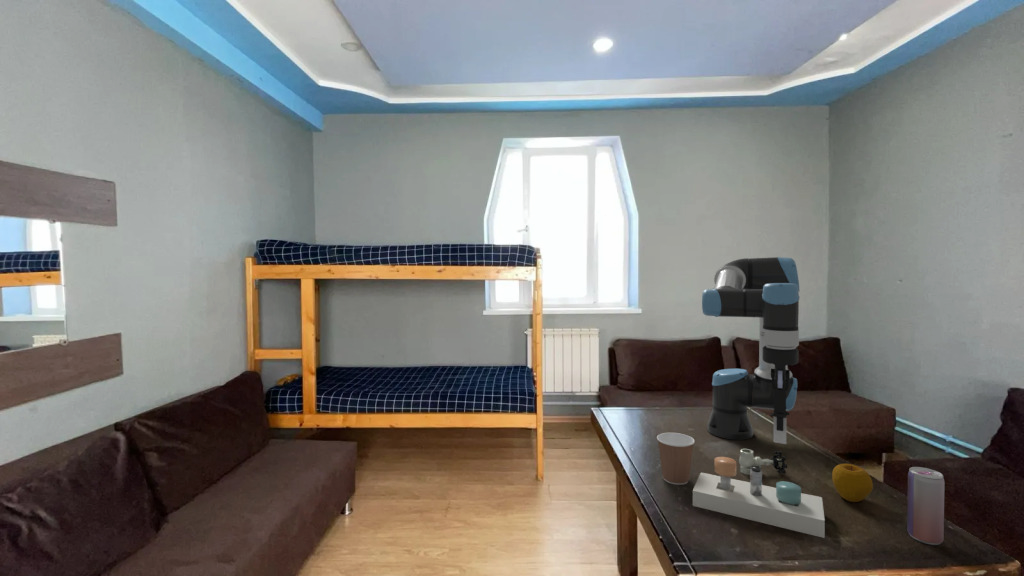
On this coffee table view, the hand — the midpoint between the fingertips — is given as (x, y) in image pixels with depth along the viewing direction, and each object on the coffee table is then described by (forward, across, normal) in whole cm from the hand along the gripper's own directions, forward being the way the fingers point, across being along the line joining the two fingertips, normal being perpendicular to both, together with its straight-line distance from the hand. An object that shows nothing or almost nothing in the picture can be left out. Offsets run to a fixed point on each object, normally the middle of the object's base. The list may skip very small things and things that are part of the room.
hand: (779, 442), depth 111 cm
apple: (+19, -18, +16) cm, 30 cm away
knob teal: (+18, 0, +2) cm, 18 cm away
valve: (+19, -24, -5) cm, 31 cm away
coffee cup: (+19, -7, -26) cm, 33 cm away
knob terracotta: (+14, 0, -12) cm, 19 cm away
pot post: (+14, 0, -5) cm, 15 cm away
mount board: (+18, 0, -5) cm, 19 cm away
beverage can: (+18, -4, +28) cm, 34 cm away
